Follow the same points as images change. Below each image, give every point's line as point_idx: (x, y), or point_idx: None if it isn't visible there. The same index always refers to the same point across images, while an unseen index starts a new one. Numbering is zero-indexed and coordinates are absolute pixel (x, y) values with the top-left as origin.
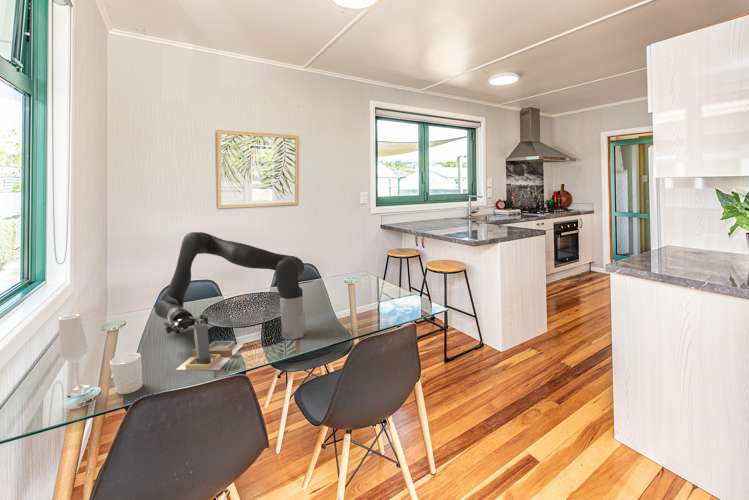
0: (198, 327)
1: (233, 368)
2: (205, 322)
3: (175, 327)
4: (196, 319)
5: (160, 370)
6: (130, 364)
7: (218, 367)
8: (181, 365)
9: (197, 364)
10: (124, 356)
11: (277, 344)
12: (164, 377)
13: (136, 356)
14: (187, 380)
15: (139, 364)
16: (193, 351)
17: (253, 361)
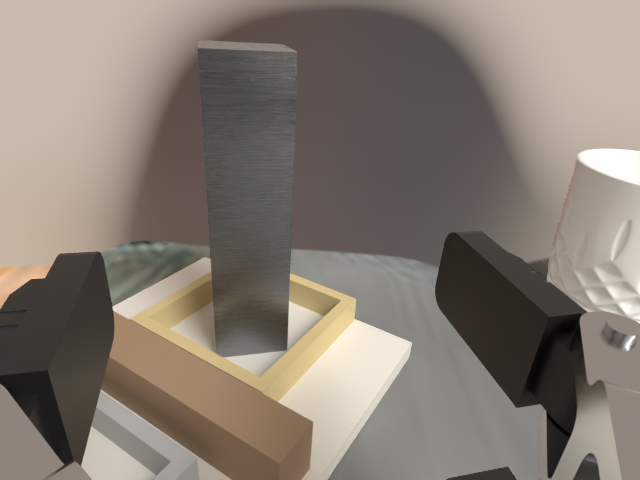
0: (266, 44)
1: (135, 272)
2: (10, 308)
3: (561, 308)
4: (71, 468)
5: (525, 427)
6: (590, 162)
7: (197, 271)
8: (383, 371)
9: (292, 279)
10: None
11: None
12: (459, 337)
13: (636, 204)
14: (343, 275)
15: (567, 193)
16: (295, 419)
17: (14, 281)
